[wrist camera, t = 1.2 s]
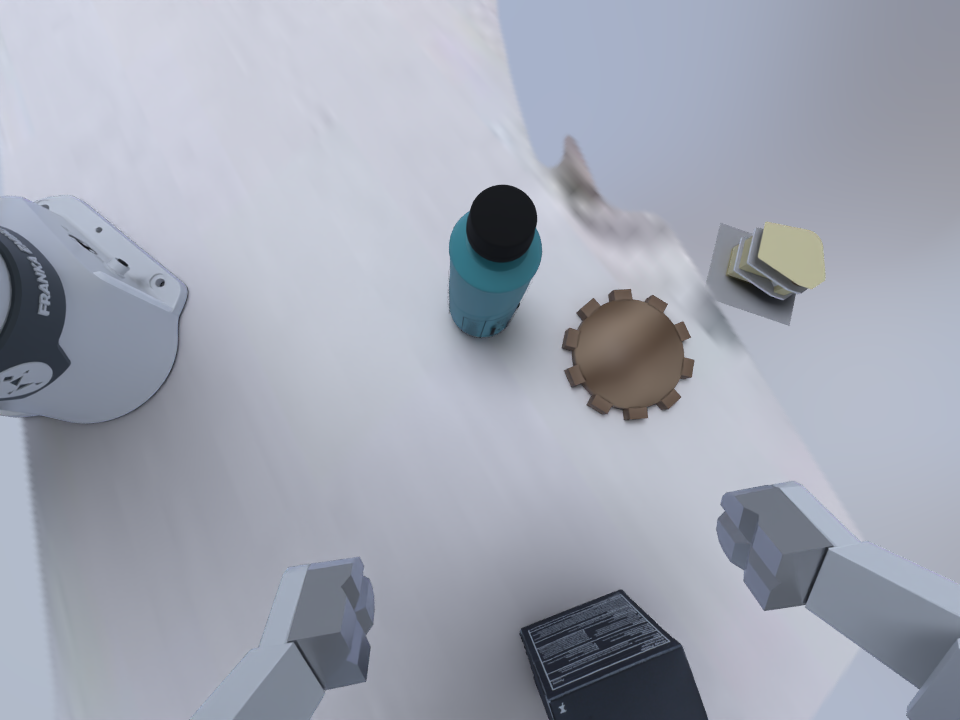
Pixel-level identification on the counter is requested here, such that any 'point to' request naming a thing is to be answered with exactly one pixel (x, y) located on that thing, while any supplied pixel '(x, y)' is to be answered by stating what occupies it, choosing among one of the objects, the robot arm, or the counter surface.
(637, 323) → the gear plate
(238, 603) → the counter surface
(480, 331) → the beverage bottle
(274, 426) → the counter surface
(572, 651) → the small box
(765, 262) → the stacked layers on plate
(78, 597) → the counter surface
